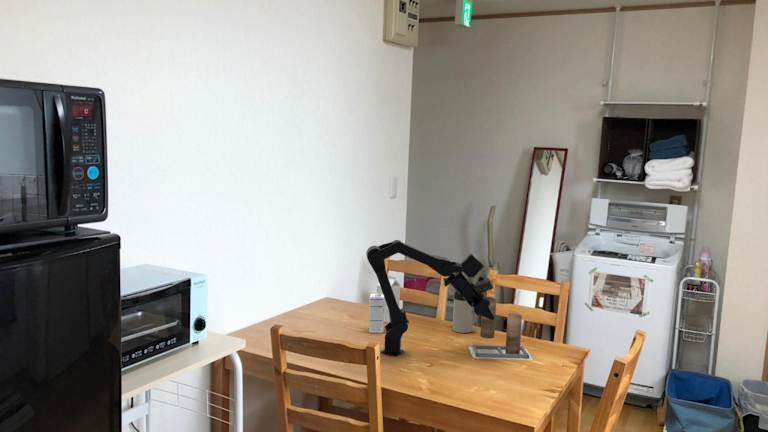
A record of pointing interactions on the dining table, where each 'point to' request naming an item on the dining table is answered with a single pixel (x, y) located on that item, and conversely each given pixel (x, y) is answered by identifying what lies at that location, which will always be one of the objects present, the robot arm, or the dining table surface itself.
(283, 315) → the dining table surface
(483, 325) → the billet
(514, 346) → the billet
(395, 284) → the milk carton
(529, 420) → the dining table surface
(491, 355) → the pallet board
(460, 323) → the travel mug
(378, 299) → the syrup box
